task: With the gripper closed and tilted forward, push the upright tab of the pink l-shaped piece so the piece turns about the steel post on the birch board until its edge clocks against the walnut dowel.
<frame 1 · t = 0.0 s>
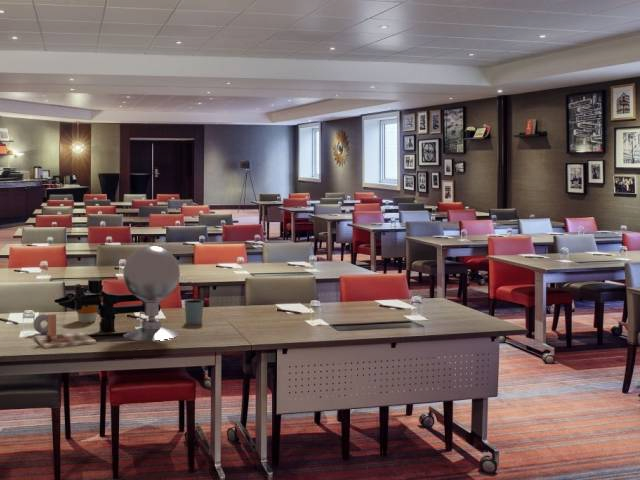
hand: (56, 302, 418), 17 cm above the table, tool horizontal, fingers open, 9 cm apart
desk lamp: (151, 335, 425), on the table
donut: (44, 334, 423), on the table
grey-green tapered cup: (193, 323, 458), on the table
pink l-shaped piece: (56, 327, 404), point 7 cm above the table, hinge at 0.0°
reusable coffee cup: (87, 321, 457), on the table
board: (64, 341, 407), on the table
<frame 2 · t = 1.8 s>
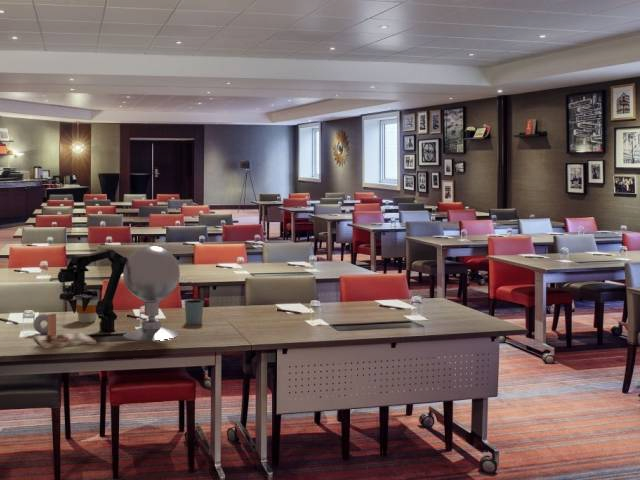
hand: (79, 312, 418), 12 cm above the table, tool pointing down, fingers open, 5 cm apart
nothing on the table moved.
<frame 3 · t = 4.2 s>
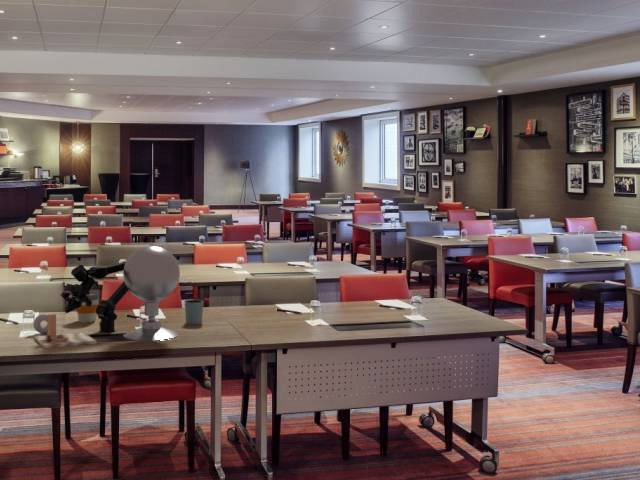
hand: (66, 312, 412), 13 cm above the table, tool tilted 45°, fingers closed
nothing on the table moved.
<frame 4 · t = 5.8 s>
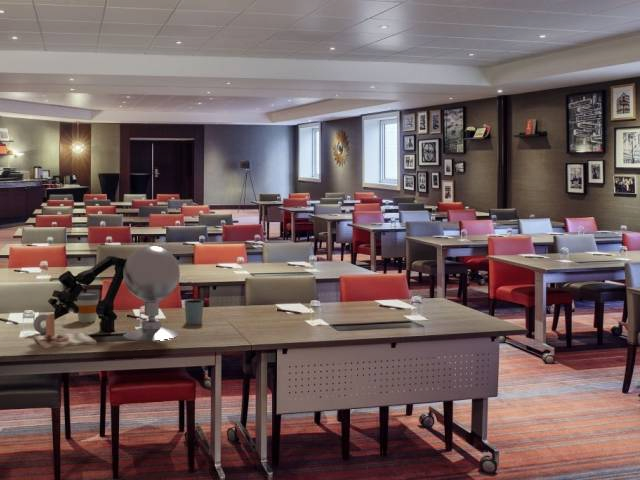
hand: (53, 319, 406), 10 cm above the table, tool tilted 45°, fingers closed, pressing on pink l-shaped piece
pink l-shaped piece: (55, 327, 404), point 7 cm above the table, hinge at 9.0°, touching gripper
everything else where it was.
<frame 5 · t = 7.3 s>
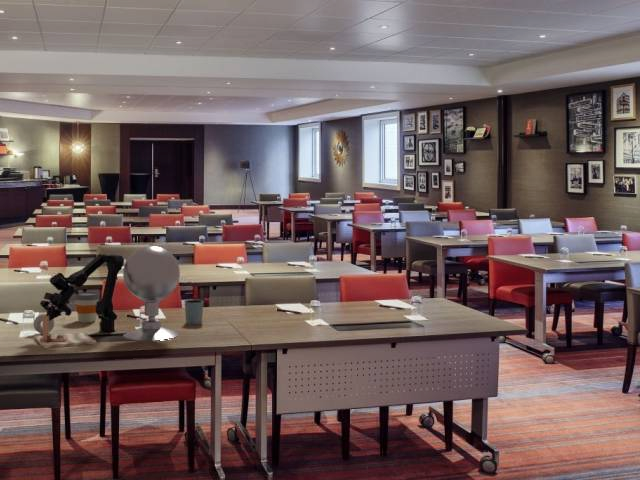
hand: (45, 322, 403), 10 cm above the table, tool tilted 45°, fingers closed
pink l-shaped piece: (53, 327, 402), point 7 cm above the table, hinge at 46.2°, touching gripper
everything else where it was.
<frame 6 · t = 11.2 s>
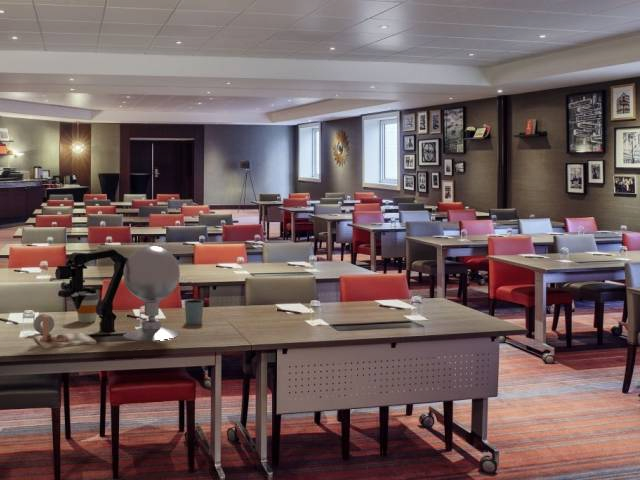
hand: (77, 309, 420), 13 cm above the table, tool pointing down, fingers closed
pink l-shaped piece: (53, 327, 402), point 7 cm above the table, hinge at 46.2°, touching board
everything else where it was.
at the end: pink l-shaped piece at +46° (first picture: +0°) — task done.
